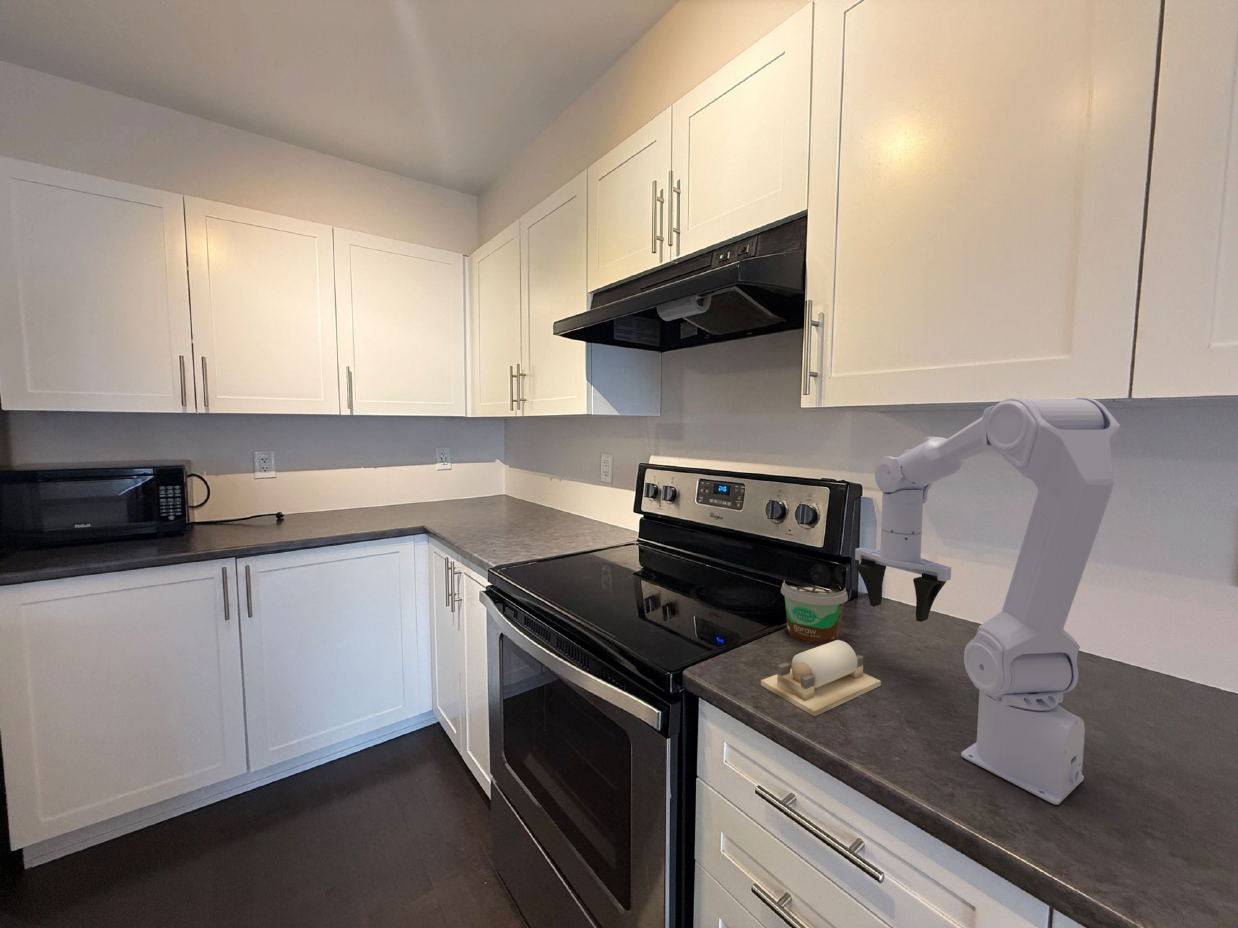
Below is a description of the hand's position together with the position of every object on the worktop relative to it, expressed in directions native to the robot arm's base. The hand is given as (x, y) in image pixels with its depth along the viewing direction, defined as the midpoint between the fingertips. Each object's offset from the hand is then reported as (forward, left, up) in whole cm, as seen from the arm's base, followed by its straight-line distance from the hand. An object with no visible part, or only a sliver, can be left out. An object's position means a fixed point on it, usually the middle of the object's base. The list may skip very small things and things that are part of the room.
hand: (897, 612), depth 81 cm
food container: (+16, +1, -11) cm, 19 cm away
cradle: (+4, +14, -10) cm, 18 cm away
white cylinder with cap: (+5, +14, -9) cm, 17 cm away
